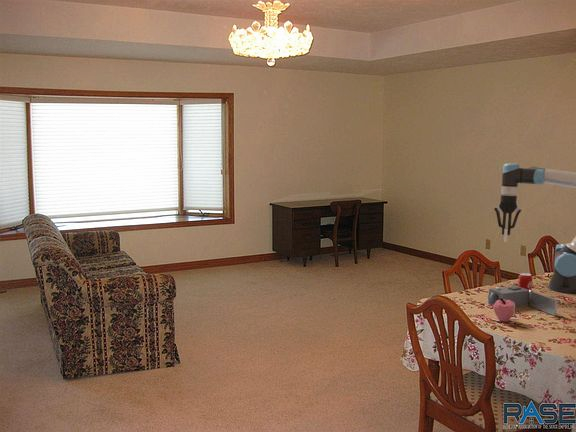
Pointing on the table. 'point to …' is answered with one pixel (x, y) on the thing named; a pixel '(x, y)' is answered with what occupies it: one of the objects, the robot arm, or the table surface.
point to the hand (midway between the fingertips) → (505, 241)
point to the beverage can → (525, 281)
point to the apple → (504, 309)
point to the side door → (542, 302)
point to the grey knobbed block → (509, 295)
